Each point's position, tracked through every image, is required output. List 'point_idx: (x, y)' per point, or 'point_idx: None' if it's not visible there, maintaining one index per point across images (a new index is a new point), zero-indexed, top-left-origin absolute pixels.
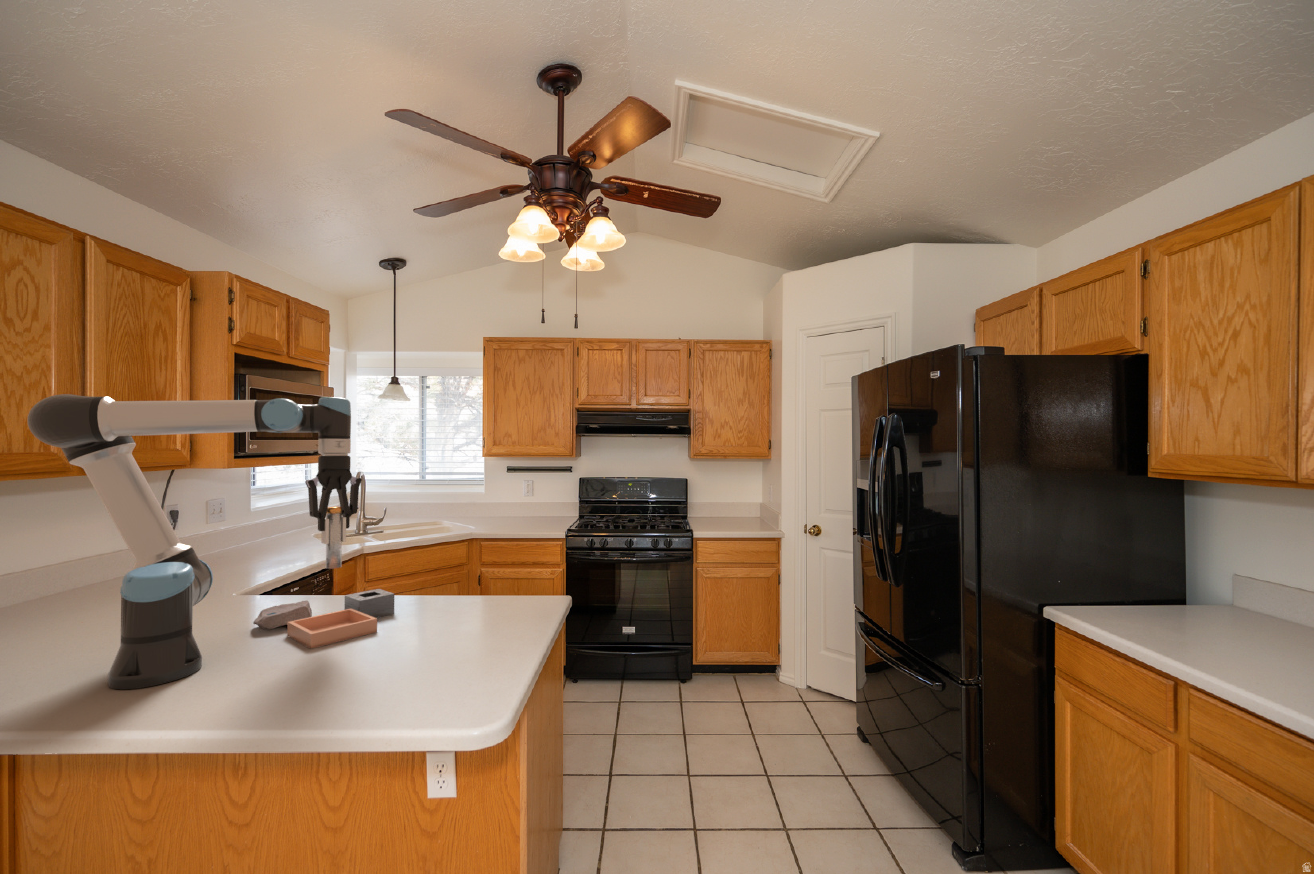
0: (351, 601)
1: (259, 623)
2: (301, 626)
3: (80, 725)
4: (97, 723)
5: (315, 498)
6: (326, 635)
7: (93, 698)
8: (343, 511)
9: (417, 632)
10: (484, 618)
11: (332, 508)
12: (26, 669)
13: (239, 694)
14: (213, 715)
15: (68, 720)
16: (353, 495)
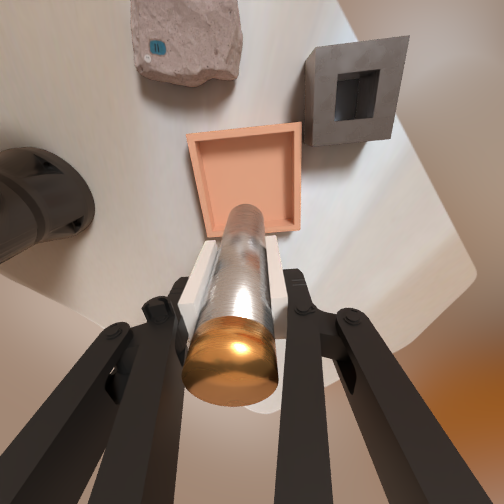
0: (312, 98)
1: (141, 74)
2: (202, 185)
3: (38, 284)
4: (50, 289)
5: (63, 501)
6: None
7: None
8: (296, 331)
9: (328, 261)
10: (418, 269)
11: (211, 399)
12: None
13: None
14: (131, 326)
15: (22, 268)
16: (392, 501)
